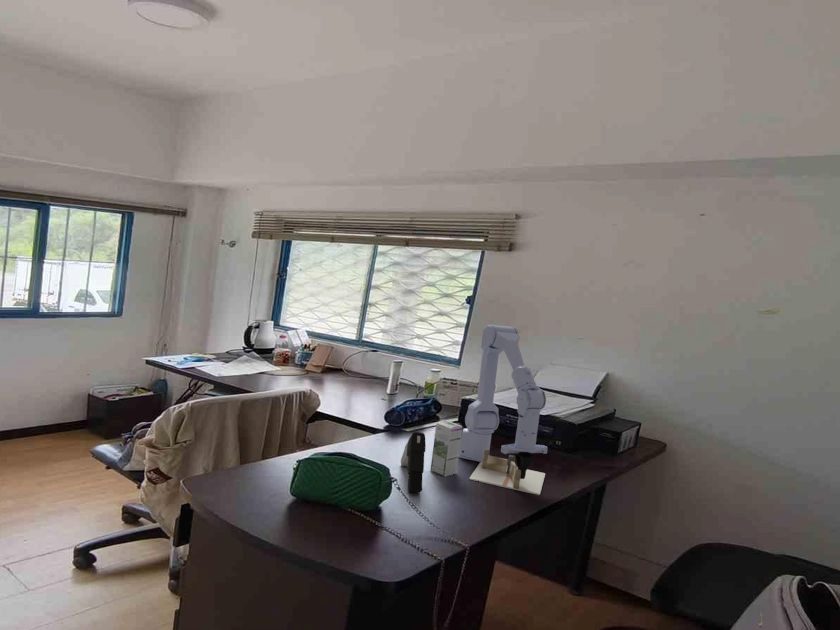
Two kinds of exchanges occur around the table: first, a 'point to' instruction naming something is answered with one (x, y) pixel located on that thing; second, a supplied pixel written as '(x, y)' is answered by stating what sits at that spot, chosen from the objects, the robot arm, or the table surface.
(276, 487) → the table surface
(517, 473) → the beige long t-shaped piece
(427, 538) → the table surface
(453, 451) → the syrup box
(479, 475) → the mat
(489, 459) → the fixed fence section
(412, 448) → the handheld device
